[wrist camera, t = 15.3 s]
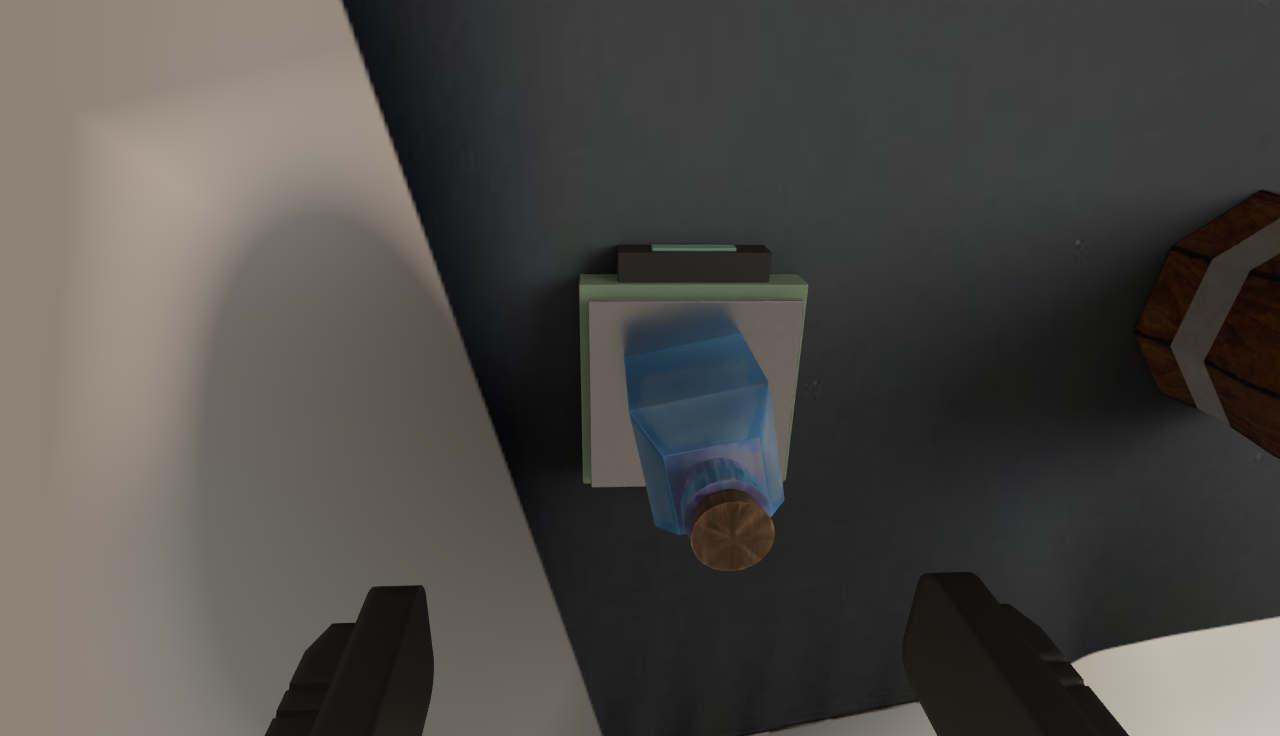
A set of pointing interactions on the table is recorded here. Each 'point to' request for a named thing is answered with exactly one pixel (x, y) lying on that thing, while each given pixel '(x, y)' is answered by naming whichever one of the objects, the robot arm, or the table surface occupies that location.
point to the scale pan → (670, 324)
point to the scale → (681, 293)
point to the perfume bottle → (708, 447)
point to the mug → (1222, 321)
